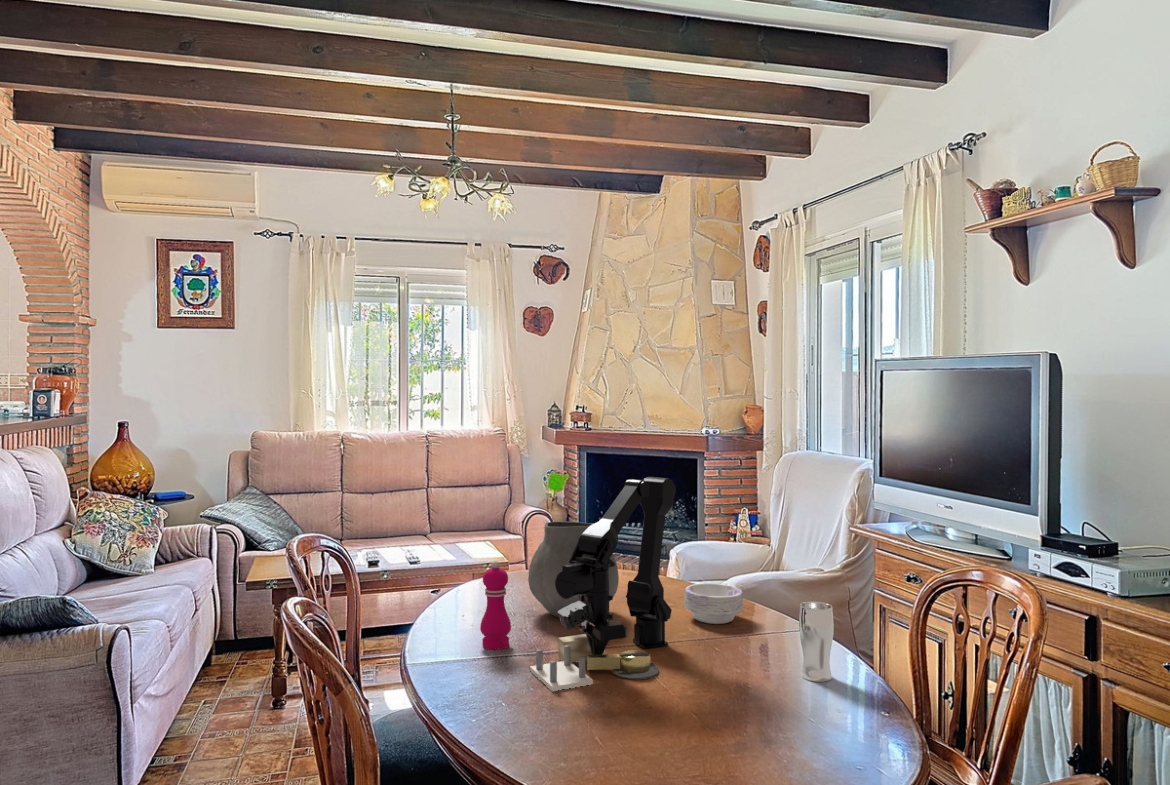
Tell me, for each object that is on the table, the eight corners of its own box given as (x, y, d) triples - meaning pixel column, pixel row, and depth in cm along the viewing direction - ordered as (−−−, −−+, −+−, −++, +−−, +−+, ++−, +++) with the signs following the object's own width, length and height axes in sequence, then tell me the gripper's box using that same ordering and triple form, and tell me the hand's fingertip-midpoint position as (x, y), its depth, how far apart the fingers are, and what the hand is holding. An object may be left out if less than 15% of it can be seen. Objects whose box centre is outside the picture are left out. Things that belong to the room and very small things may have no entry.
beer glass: (834, 673, 169) (834, 602, 169) (833, 684, 162) (833, 611, 162) (800, 669, 171) (800, 600, 171) (798, 680, 164) (797, 608, 164)
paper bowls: (755, 621, 207) (755, 590, 207) (712, 631, 199) (712, 599, 199) (714, 608, 220) (714, 579, 220) (672, 617, 211) (672, 587, 211)
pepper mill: (505, 651, 184) (505, 565, 184) (476, 649, 185) (475, 564, 185) (514, 641, 191) (514, 558, 191) (486, 640, 192) (485, 557, 192)
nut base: (644, 660, 177) (644, 657, 177) (666, 675, 168) (666, 672, 168) (603, 667, 173) (603, 664, 173) (624, 682, 164) (624, 679, 164)
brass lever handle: (647, 661, 174) (647, 648, 174) (652, 671, 167) (652, 658, 167) (585, 663, 173) (585, 650, 173) (588, 673, 166) (588, 660, 166)
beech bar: (598, 653, 182) (598, 632, 182) (605, 658, 179) (605, 636, 179) (558, 660, 178) (558, 637, 178) (564, 664, 175) (564, 642, 175)
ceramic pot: (635, 611, 217) (635, 519, 217) (588, 634, 197) (587, 533, 197) (561, 598, 230) (561, 512, 230) (510, 619, 210) (509, 524, 210)
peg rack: (529, 670, 171) (529, 647, 171) (568, 664, 174) (568, 642, 174) (552, 691, 159) (551, 666, 159) (592, 684, 163) (592, 660, 163)
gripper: (546, 584, 179) (546, 653, 179) (579, 604, 162) (579, 680, 162) (591, 579, 184) (591, 646, 184) (628, 598, 167) (628, 672, 167)
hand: (596, 660), depth 174 cm, fingers closed
